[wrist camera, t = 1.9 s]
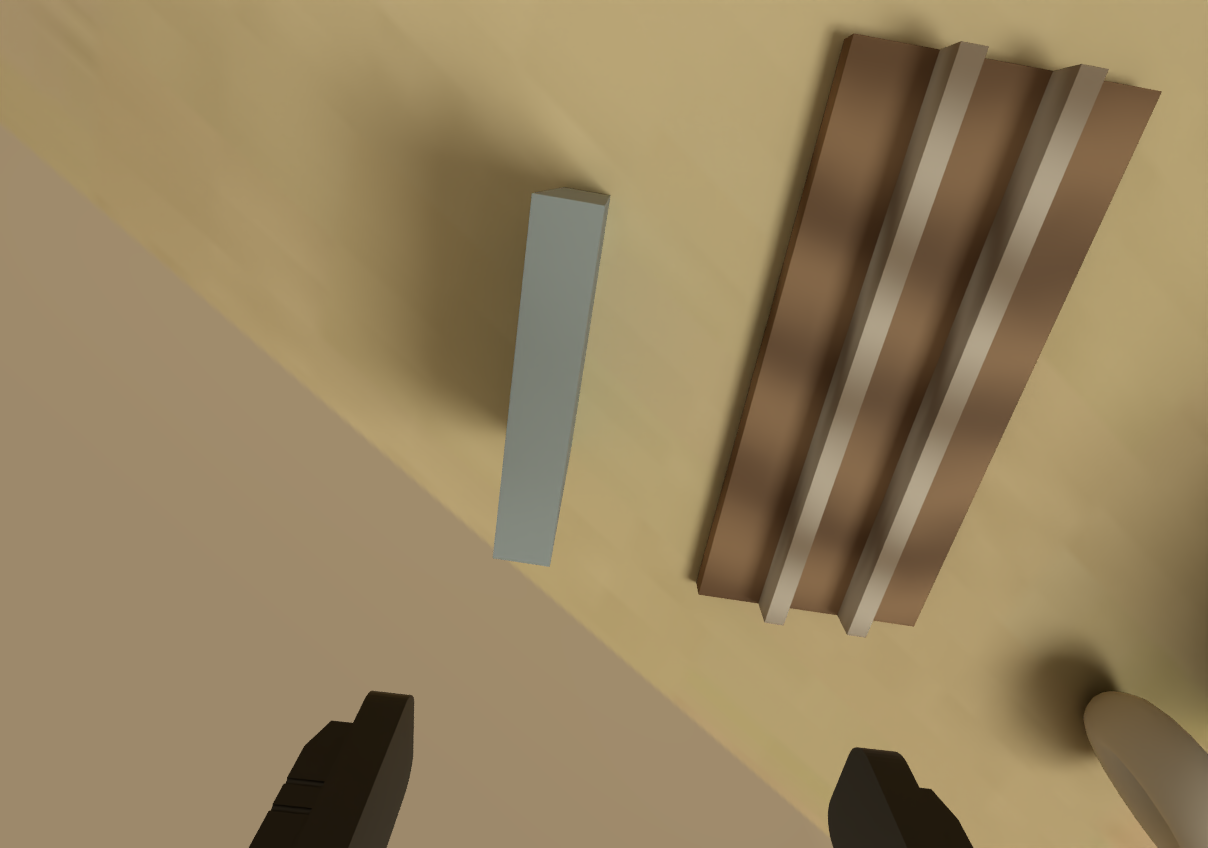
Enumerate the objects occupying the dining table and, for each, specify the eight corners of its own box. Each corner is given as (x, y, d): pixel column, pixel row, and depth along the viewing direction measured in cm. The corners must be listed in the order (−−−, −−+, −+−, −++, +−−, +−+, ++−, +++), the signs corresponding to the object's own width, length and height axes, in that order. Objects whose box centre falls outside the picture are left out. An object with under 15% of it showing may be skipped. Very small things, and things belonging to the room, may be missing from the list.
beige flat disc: (1049, 667, 35) (1205, 846, 25) (1111, 645, 34) (1295, 820, 25) (1089, 772, 38) (1242, 965, 29) (1147, 754, 37) (1322, 945, 28)
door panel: (564, 187, 25) (531, 192, 16) (610, 195, 25) (604, 205, 16) (531, 440, 30) (492, 558, 21) (571, 446, 30) (549, 566, 21)
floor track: (844, 39, 23) (869, 23, 21) (1140, 94, 23) (1197, 85, 21) (696, 582, 33) (702, 613, 31) (905, 614, 33) (926, 646, 31)
